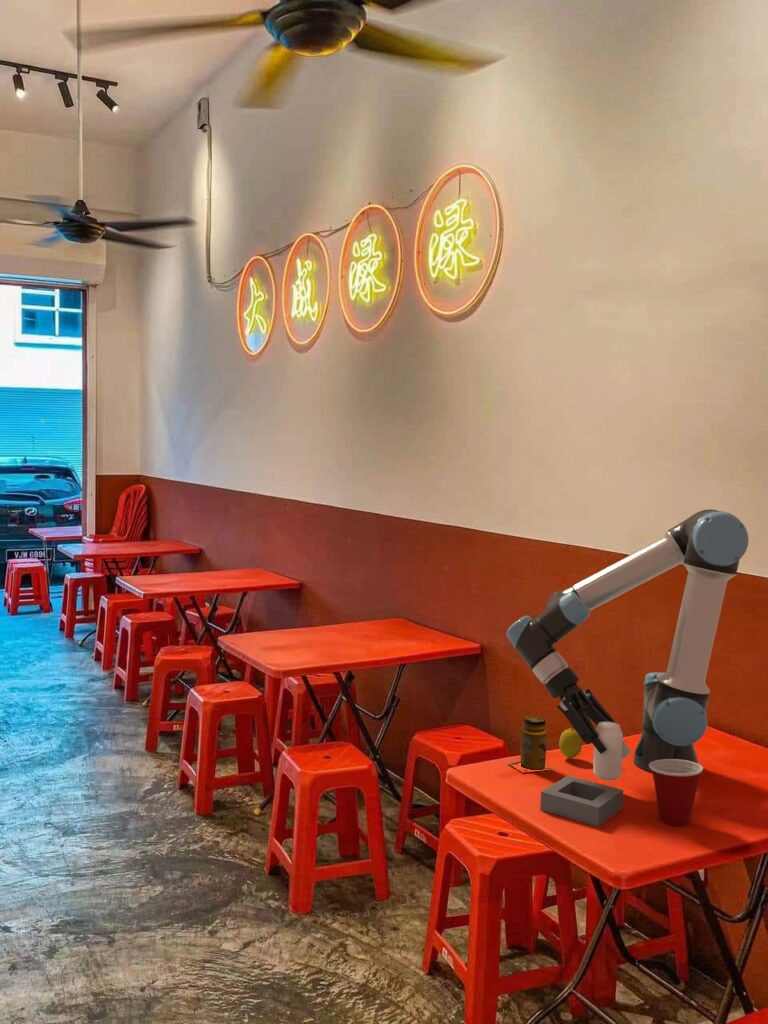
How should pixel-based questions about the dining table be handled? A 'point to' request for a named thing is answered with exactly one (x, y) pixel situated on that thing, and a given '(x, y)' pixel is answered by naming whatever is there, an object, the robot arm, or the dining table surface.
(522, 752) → the condiment
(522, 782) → the dining table surface
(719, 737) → the dining table surface
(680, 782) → the plastic cup
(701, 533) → the robot arm
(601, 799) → the square frame
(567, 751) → the lemon
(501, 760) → the dining table surface
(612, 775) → the beverage can
